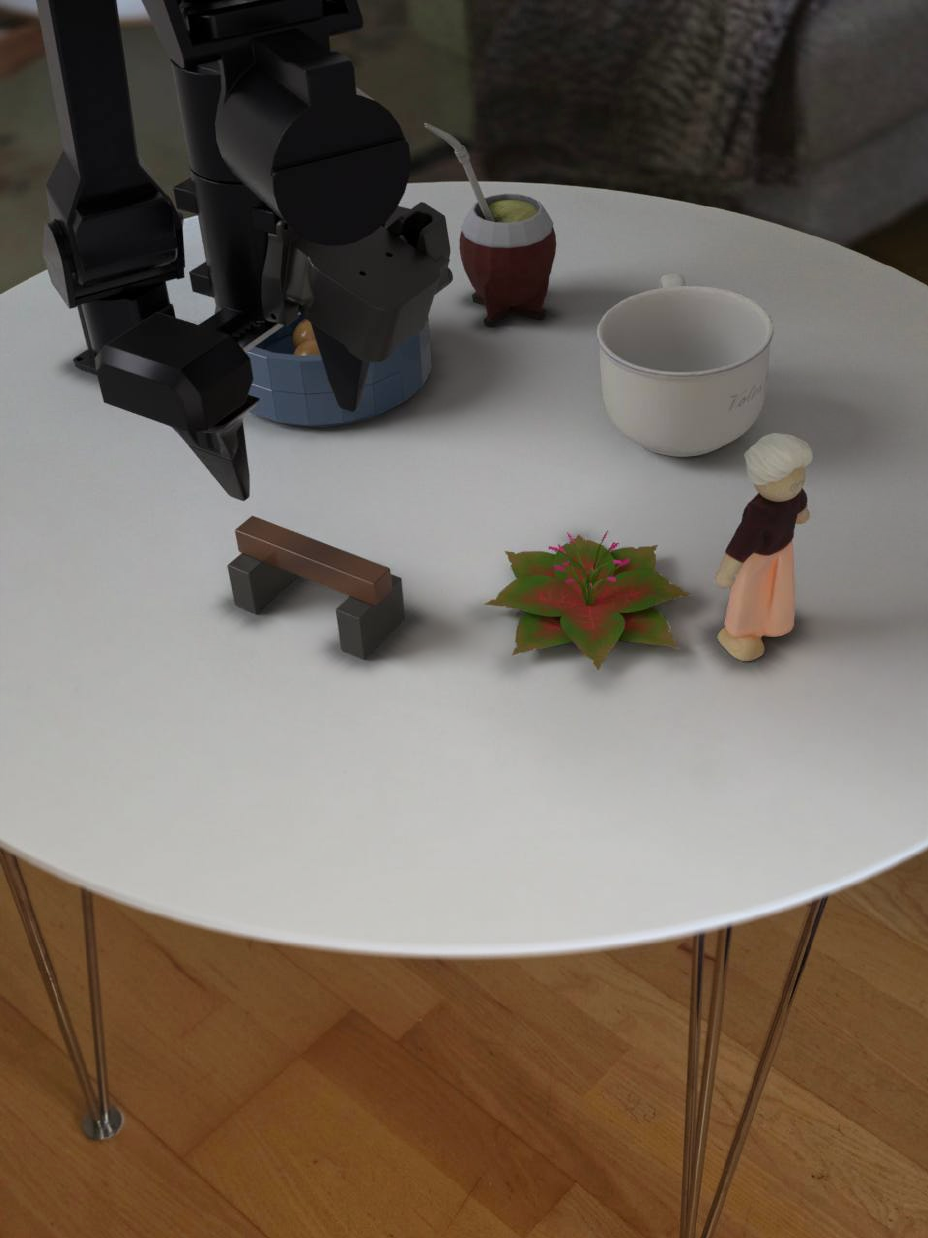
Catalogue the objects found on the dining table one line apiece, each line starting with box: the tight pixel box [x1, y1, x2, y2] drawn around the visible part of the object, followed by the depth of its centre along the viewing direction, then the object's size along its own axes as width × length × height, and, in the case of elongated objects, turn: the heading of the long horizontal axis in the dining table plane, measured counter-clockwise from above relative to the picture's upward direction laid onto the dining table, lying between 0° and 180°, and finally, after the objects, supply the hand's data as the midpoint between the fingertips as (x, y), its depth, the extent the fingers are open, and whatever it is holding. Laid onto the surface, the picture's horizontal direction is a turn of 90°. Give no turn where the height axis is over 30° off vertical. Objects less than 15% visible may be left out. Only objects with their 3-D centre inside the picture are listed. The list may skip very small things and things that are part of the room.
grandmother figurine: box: [714, 432, 814, 662], centre depth 71 cm, size 8×4×13 cm, turn 148°
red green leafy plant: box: [483, 530, 692, 672], centre depth 76 cm, size 12×12×5 cm
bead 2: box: [293, 340, 320, 356], centre depth 95 cm, size 3×3×3 cm
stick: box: [234, 515, 392, 606], centre depth 75 cm, size 10×2×2 cm, turn 57°
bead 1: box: [293, 319, 316, 349], centre depth 97 cm, size 3×3×3 cm
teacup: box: [596, 272, 775, 458], centre depth 89 cm, size 14×11×8 cm
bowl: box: [214, 305, 433, 428], centre depth 95 cm, size 15×15×6 cm
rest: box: [226, 552, 406, 660], centre depth 77 cm, size 9×4×3 cm, turn 57°
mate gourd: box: [423, 122, 557, 328], centre depth 98 cm, size 8×8×15 cm
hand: (296, 451), depth 71 cm, fingers open, 9 cm apart
